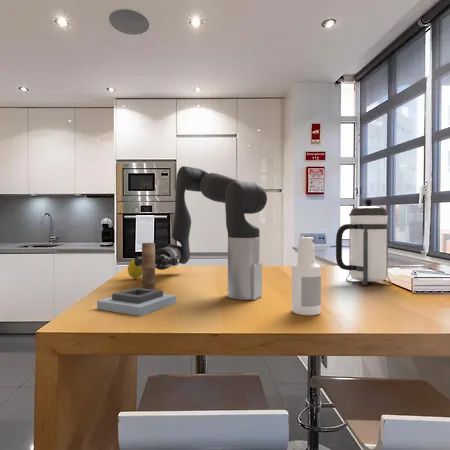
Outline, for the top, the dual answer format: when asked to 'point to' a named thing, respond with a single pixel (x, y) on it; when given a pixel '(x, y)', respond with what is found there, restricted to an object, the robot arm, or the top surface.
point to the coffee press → (366, 244)
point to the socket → (136, 301)
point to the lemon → (134, 270)
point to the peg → (148, 266)
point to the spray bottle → (306, 280)
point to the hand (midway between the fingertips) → (149, 263)
